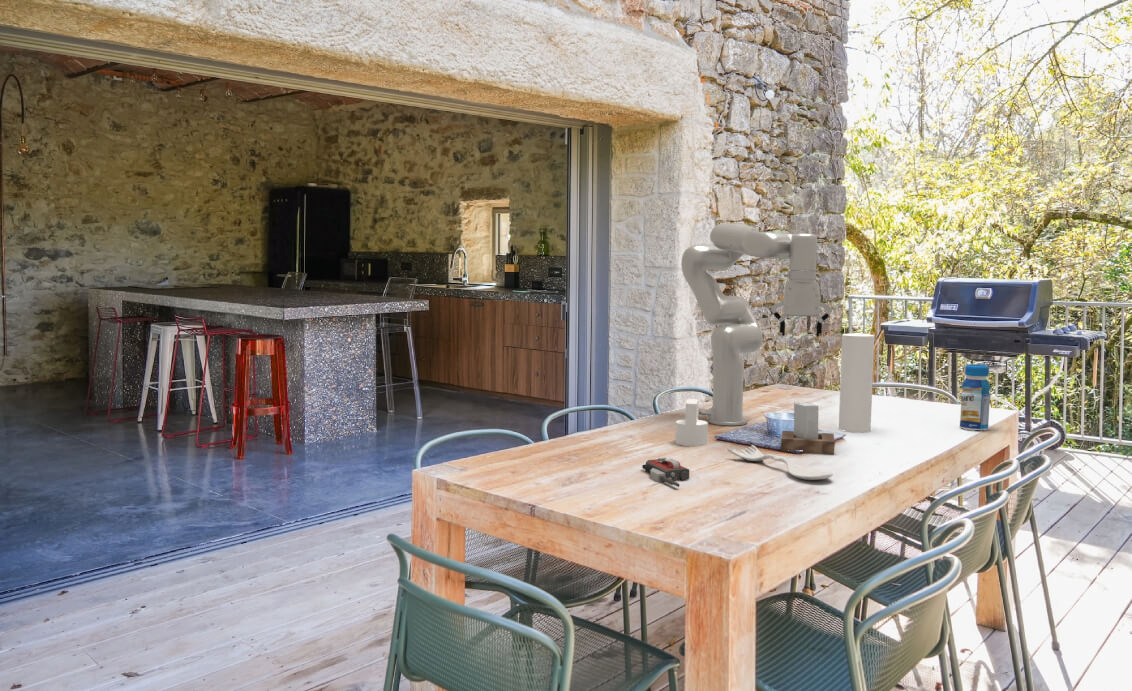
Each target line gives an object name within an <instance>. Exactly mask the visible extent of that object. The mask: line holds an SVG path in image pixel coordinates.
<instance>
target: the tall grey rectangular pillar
mask: <svg viewBox="0 0 1132 691" xmlns="http://www.w3.org/2000/svg"><path fill="white" fill-rule="evenodd" d="M841 336H842V337H841V354H840V356H841V360H840V384H839V386H840V387H839V412H838V413H839V414H838V430H839V429H841V430H845V431H852V432H851V433H854V432H866V433H869V432H868V431H870V432H871V427H872V426H871V425H872V403H873V400H872V399H873V382H874V381H873V380H874V379H873V378H874V354H875V334H868V333H863V332H853V333H843V334H842V335H841ZM841 430H840V431H841ZM845 431H844V432H845Z"/></svg>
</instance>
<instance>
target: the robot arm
mask: <svg viewBox="0 0 1132 691" xmlns="http://www.w3.org/2000/svg"><path fill="white" fill-rule="evenodd" d="M709 234H710V235H709V240H710V242H711V244H710V243H707V244H705V243H704V244H703V243H702V244H701V243H700V244H693V245H691V246H689V247H687V248H686V249H685V250H684V251H683V253H682V255H681V256H682V258H681V271H682V274H683V277H684V279H685V281H686V283H687V285H688V287H689V288H690V289H691V291H692V292H693V294H694V295H693V296H694V297H695V300H696V302H697V304H698V306H699V309H700V311H701V313H702V315H703V318H704V319H705V321H706V322H707V323H708V324H709V325H712V326H717V327H715V328H714V330H712V333H711V336H710V344H711V351H712V359H713V366H712V367H713V371H712V372H713V373H712V376H713V377H712V378H713V379H712V406H711V408H710V407H708V408H698V415H700V416H708V417H707V421H706V422H708V424H709V423H710V424H713V425H717V426H730V427H731V426H734V427H735V426H736V427H737V426H744V425H746V424H747V423H748V419H747V418H745V417H743V410H744V409H743V404H744V402H743V401H744V371H745V370H744V365H743V362H742V359H741V357H740V354H751V353H755V352H757V351H759V350H760V349H761V348H762V346H763V340H764V337H763V332H762V330H761V327H760V325H759V323H758V321H757V318H756V317H755V315H754V313H753V311H752V308H751V306H750V304H749V303H748V301H746V300H745V299H744V298H743V297H741V296H739V295H738V296H737V295H726V294H724V293H723V291H722V288H720V285H719V283H718V281H717V280H716V279H715V278H714V277H713V276H712V275H711V274H709V272H708V271H725V270H728V269H729V268H731V267H732V266H734V265H735V264H736V262H738V260H740V259H741V257H743V256H744V255H746V256H749V257H752V258H754V257H755V258H759V259H768V260H778V259H779V260H789V264H788V265H789V266H788V268H789V270H788V271H786V272H783V278H787V279H788V280H787V281H785V284H784V285H785V287H784V291H783V300H782V301H780V302H777V303H775V304H773V305H771V306H770V310H771V312H772V314H773V316H774V317H775V318H776V319H777V320H778V321H779V333H781V336H782V337H784V336H785V334H786V321H785V319H787V317H788V316H789V317H814V318H815V319H816V321H817V322H816V337H817V338H820V335H822V334H823V333H822V331H823V329H822V327H823V323H824V321H826V320H827V319H829V317H830V315H831V313H832V311H833V310H834V309H833V307H832V306H830V305H828V304H826V303H824V302H822V301H821V299H820V297H821V293H820V292H821V291H820V290H821V289H820V283H819V281H817V263H818V261H817V255H818V237H817V235H816V234H814V233H784V232H781V233H780V232H763V231H762V232H761V231H759V230H758V229H757V228H756V227H754V226H749V225H748V224H745V223H731V222H722V223H719V224H716V225H715V226H713V228H712V229H711V231H710V233H709ZM781 307H782V311H783V312H782V313H783V314H782V315H781V314H779V312H778V308H781ZM821 308H823V309H824V310H825V311H826V312H825V313H824V314H823V315H822V316H821V315H820V311H821V310H820V309H821Z"/></svg>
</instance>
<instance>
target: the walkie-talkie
mask: <svg viewBox="0 0 1132 691" xmlns="http://www.w3.org/2000/svg"><path fill="white" fill-rule="evenodd" d="M641 466H642V469H643V470H644V471H645V472H646V473H648V474H650V479H652V480H654V481H655V482H657V483H658V482H659V483H660V482H664V483H666V484H669V485H671V486H672V485H673V486H675V487H678V488H680V486H681V485H680V483H679V482H677V481H685V480H690V469H689V468H687V467H684V466H682V465H681V462H679V461H678V460H676V459H674V458H667V457H660V458H659V457H658V458H654V459H648V460H646V461H645V464H642V465H641Z"/></svg>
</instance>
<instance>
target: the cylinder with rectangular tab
mask: <svg viewBox="0 0 1132 691" xmlns="http://www.w3.org/2000/svg"><path fill="white" fill-rule="evenodd" d="M708 424H709V422H708V421H706V420H701V419H699V398H687V400H686V402H685V419H678V420H675V441H674V442H675V444H677V445H681V446H686V447H703V446H707V445H708V429H709V428H708V427H709V426H708Z"/></svg>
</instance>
